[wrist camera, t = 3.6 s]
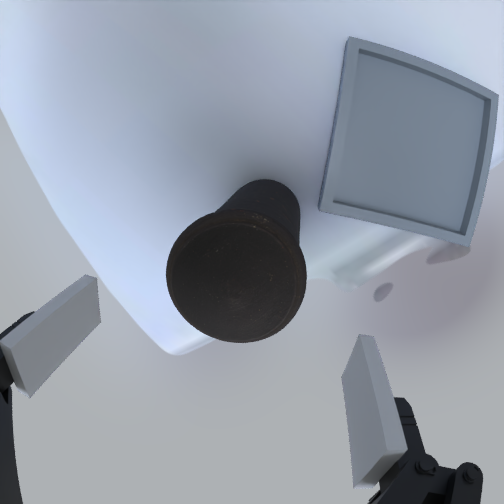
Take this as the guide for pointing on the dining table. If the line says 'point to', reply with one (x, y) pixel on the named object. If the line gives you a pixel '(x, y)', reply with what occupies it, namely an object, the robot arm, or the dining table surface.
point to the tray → (408, 144)
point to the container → (241, 265)
